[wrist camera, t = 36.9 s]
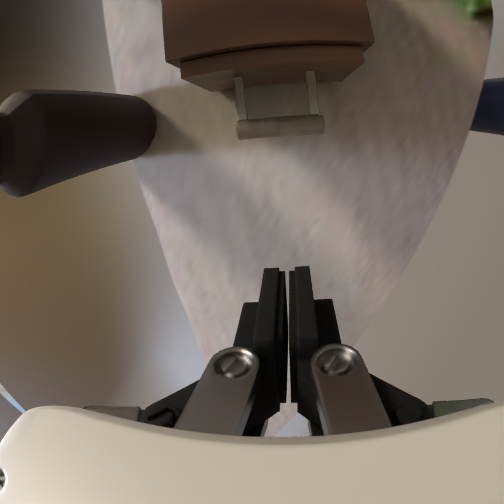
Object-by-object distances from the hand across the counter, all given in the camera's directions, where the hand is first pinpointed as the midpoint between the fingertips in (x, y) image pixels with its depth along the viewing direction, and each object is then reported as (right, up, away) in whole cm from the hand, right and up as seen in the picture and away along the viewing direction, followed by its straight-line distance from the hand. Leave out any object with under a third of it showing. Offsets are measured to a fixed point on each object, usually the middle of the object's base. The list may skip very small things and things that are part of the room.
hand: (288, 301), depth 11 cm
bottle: (-14, +15, +14) cm, 25 cm away
